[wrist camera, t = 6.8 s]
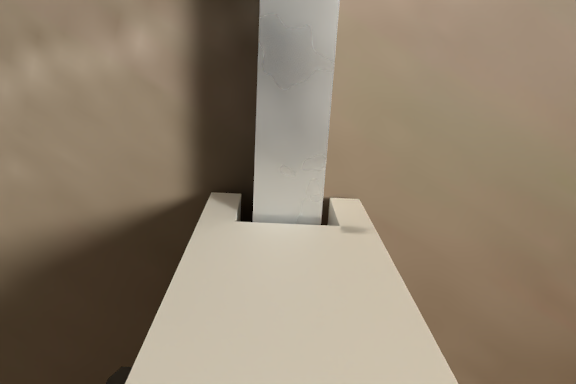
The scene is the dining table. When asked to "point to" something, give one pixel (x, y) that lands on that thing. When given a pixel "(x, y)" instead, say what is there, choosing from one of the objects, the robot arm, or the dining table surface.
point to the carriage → (288, 307)
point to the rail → (293, 108)
